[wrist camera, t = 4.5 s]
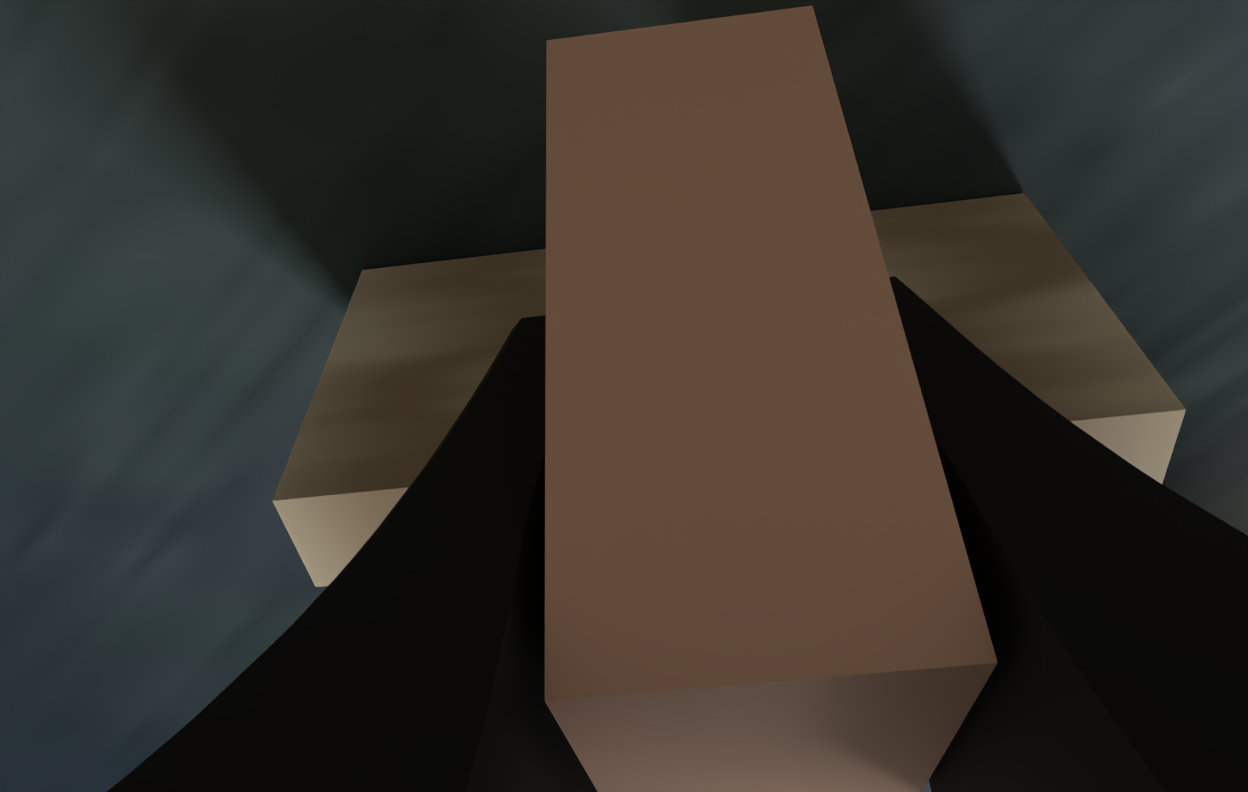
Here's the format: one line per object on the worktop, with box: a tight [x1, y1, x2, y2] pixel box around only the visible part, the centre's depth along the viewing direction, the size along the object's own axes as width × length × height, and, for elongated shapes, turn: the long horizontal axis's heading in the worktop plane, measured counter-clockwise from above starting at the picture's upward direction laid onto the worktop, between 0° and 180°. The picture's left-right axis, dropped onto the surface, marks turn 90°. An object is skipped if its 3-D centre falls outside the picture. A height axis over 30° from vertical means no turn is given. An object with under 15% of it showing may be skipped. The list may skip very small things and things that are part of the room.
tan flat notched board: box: [545, 6, 997, 792], centre depth 12 cm, size 12×2×6 cm, turn 7°
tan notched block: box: [273, 193, 1186, 587], centre depth 15 cm, size 12×2×6 cm, turn 97°
